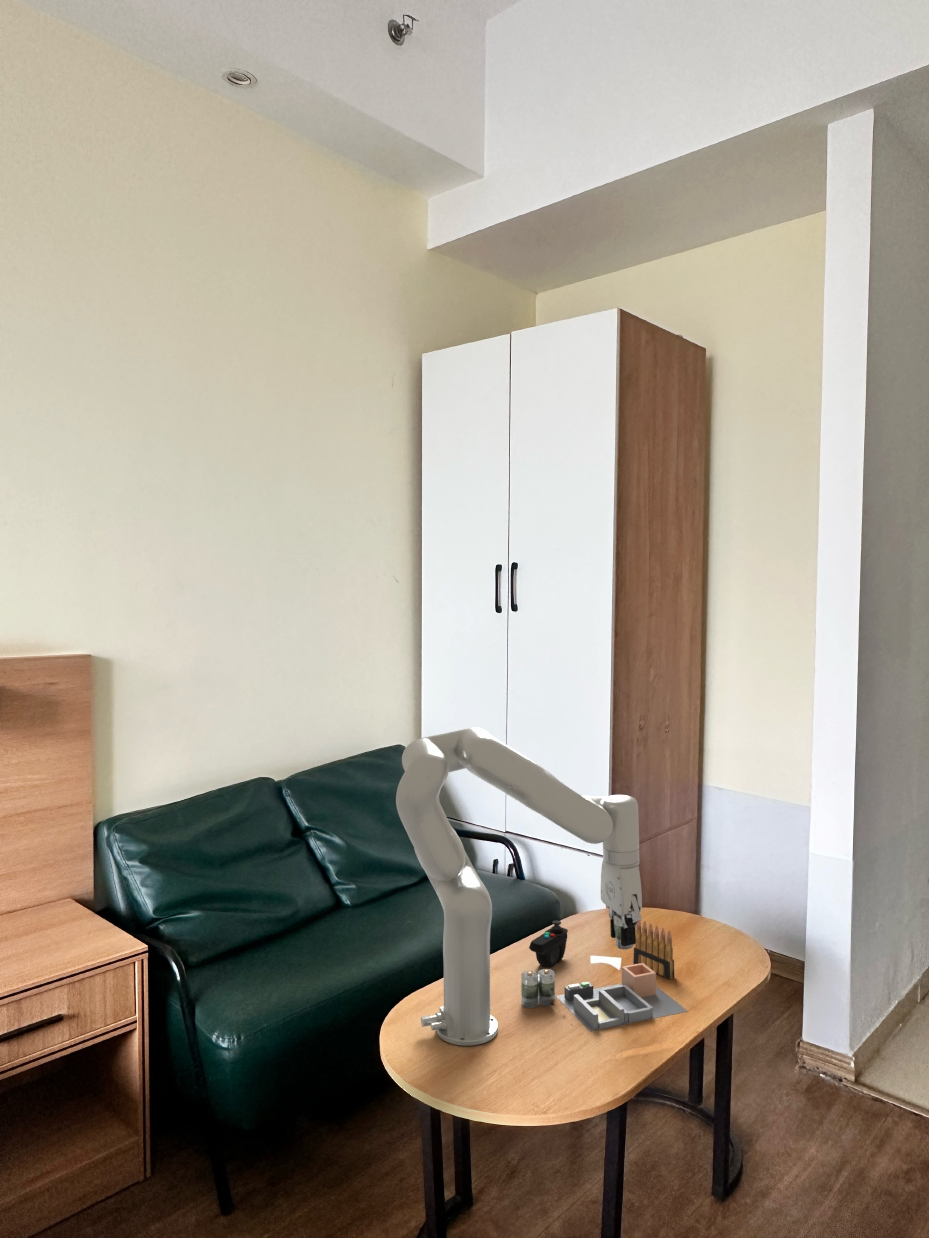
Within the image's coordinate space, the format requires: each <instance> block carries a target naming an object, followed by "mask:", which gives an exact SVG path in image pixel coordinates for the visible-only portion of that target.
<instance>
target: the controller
mask: <svg viewBox="0 0 929 1238" xmlns="http://www.w3.org/2000/svg"><path fill="white" fill-rule="evenodd" d="M561 924H562V921H561V920H552V925H553V926H551V927H550V928H549V929H547V930H545V931H544V932H543V933H542V934H541V935H539V936H537V937H536V938H534V939H533V940H531V941H530V944H529V946H528V949H529V950H530V951H531V952H534V953H535V957H536V961H537V962H538V964H539V965H540V966H542V967H544V968H546V969H550V968H553V967H555V966H556V965H558V964H559V963H561V962H562V960H563V958H564V956H565V954H566V953H565V952H566V948H567V941H568V931H569V929H567V928H565V927H562V926H560V925H561Z"/></svg>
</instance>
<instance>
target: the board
mask: <svg viewBox="0 0 929 1238" xmlns="http://www.w3.org/2000/svg"><path fill="white" fill-rule="evenodd" d="M555 998H557V999H558V1000H559V1001H560V1002H561V1003H562V1004H563V1005H564V1006H565V1007H566V1008H567V1009H568V1010H569V1011H570V1012H571V1013H572V1015H574V1016H575V1017H576V1018H577V1020H578V1021H579V1022H581V1023H582V1025H584V1027H586V1029H587V1030H589V1031H590V1032H595V1031H601V1030H606V1029H610V1028H611V1029H612V1028H616V1027H619V1026H625V1025H631V1024H634V1023H639V1022H643V1021H648V1020H654V1019H659V1018H662V1017H663V1018H664V1017H667V1016H672V1015H678V1014H683V1013H687V1012H689V1011H688V1010H687V1009H686V1008H685V1007H683V1006H682V1004H679V1002H677V1001H676V1000H675V999H673V997H671V996H670V995H669V994H667V993H666V992H665V991H664V990H662V989H661V988H660V987H658V986H657V985H656V994H655V995H650V996H645V997H640V996H639V995H637V994H636V993H635V992H634V991H633V990H632V989H630V988H629V987H628V986H627V985H622V982H621V983H618V984H612V985H605V986H602V987H596V988H594V985H593V984H592V983H591V982H590V981H583V982H580V983H573V984H568V985H564V994H558V995H556V996H555Z"/></svg>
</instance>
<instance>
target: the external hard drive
mask: <svg viewBox="0 0 929 1238" xmlns="http://www.w3.org/2000/svg"><path fill="white" fill-rule="evenodd" d="M589 956H590V964H600V963H603V964H608V965H610V966H612V967H614V968H615V969H617V970H618V971H620V970H621V968H622V957H615V956H614V957H613V956H602V955H600V956H599V955H589Z"/></svg>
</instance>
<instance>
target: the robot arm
mask: <svg viewBox="0 0 929 1238" xmlns="http://www.w3.org/2000/svg"><path fill="white" fill-rule="evenodd" d="M402 752H403V753H402V755H401V763H402V765H401V766H402V768H403V770H404V773H403V775H402V776H401V778H400V780H399V783H398V785H397V790H396V796H395V804H396V810H397V813H398V817H399V818H400V821H401V824H402V825H403V827H404V829H405V832H406V833H407V836H408V838H409V841H410V842H411V844H412V846H413V847H414V848H413V849H414V850H413V851H414V852H415V855H416V858H417V859H418V863H420V866H421V868H422V869H423V870H424V872H425V874H426V876H427V878H428V880H429V881H430V883H431V885H432V888H433V889H434V891H435V893H436V895H437V897H438V899H439V901H440V904H441V907H442V911H443V917H444V918H443V919H444V921H443V923H444V925H443V938H442V939H443V940H442V942H443V943H442V955H443V956H442V958H443V1005H442V1006H439V1011H438V1012H435V1014H432V1015H425V1016H421V1017H420V1024H421V1027H422V1028H425V1027H429V1026H430V1030H431V1031H436V1034H437V1035H438V1037H439V1038H440V1039H441V1040H443V1041H445V1042H447V1043H449V1044H452V1045H456V1046H467V1047H469V1046H472V1047H473V1046H477V1045H482V1044H485V1043H488V1042H489V1041H491V1040H492V1039H494V1038H495V1037H496V1035H497V1034H498V1032H499V1024H498V1021H497V1019H496V1018H495V1017H494V1016H492V1015H491V953H490V952H491V951H490V950H491V942H490V941H491V926H492V917H493V906H492V905H493V904H492V899H491V897H490V893H489V891H488V889H487V888H486V886H485V884H484V882H483V881H482V880H481V878H480V876H479V875H478V873H477V872H476V869H475V867H474V866H473V864H472V862H471V860H470V858H469V856H468V853H467V852H466V850H465V848H464V847H465V846H464V844H463V842H462V841H461V838H460V836H459V835H458V834H457V831H456V830H455V829H454V828H453V827H452V824H451V823H450V821H449V820H448V817H447V815H446V813H445V810H444V809H443V807H442V804H441V802H440V793H441V789H442V787H443V786H444V784H445V782H446V780H447V779H448V776H449V773H452V772H456V771H460V770H465V769H466V770H467V771H469V772H470V774H473V775H474V776H475V777H478V778H479V779H481V780H483V782H486V783H487V784H489V785H491V786H493V787H495V788H496V789H498V790H500V791H501V792H503V793H505V794H506V795H507V796H509V797H511V798H512V799H514V800H515V801H516V802H517V801H518V802H519V803H521V804H522V805H524V806H525V807H527V808H528V809H530V810H531V811H533V812H535V813H537V814H539V815H541V816H542V817H544V818H545V819H547V820H548V821H550V822H552V823H553V824H555V825H557V826H559V828H561V829H563V830H565V831H566V832H567V833H570V834H572V835H573V836H575V837H576V838H578V839H580V840H582V841H583V842H584V843H587V844H591V845H592V844H593V845H594V844H595V845H597V844H601V843H602V863H601V870H600V871H601V872H600V900H601V901H602V903H603V904H604V905H605V906H607V907H608V917H609V919H610V921H609V923H610V937H611V938H612V939H615V929H614V916H613V915H614V914H615V913H618V914H619V915H621V916H622V926H623V927H621V945H622V946H628V945H633V946H634V945H635V943H636V926H637V922H639V921H640V922H641V921H642V914H641V912H642V909H643V895H642V880H641V874H640V873H641V872H640V866H639V864H640V832H639V831H640V826H639V824H640V822H639V821H640V820H639V804H638V801H637V799H636V798H635V797H633V796H630V795H627V794H626V795H625V794H613V795H608V796H592V795H581V794H579V793H578V792H576V791H575V790H573V788H572V789H571V788H570V787H569V786H567V785H566V784H564V783H563V782H562V781H560V780H559V778H557V777H556V776H554V774H552V773H551V772H550V771H549V770H547V769H546V768H544V767H543V766H542V765H540V764H539V763H537V762H535V761H533V760H531V759H530V758H528V757H527V756H525V755H524V754H522V753H521V752H519V751H517V750H515V749H514V748H512V747H510V746H509V745H507V744H506V743H504V742H503V741H501V740H499V739H498V738H496V737H494V736H493V735H491V734H490V733H489V732H488V731H487V730H485V729H483V728H481V727H471V728H463V729H458V730H455V731H454V730H453V731H449V732H445V733H439V734H434V735H430V736H424V737H421V738H418V739H415V740H413V741H411V742H410V743H409V744H407V745H406V747H405V748H404V750H403V751H402ZM628 915H631V917H630V918H628V919H627V917H626V916H628Z"/></svg>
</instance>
